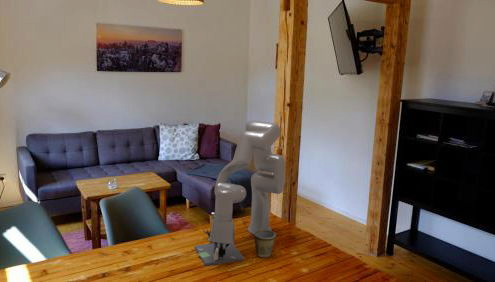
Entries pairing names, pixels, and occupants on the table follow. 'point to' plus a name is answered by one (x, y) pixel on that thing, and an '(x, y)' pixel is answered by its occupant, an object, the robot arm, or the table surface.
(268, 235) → the ceramic cup
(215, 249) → the peg
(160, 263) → the table surface
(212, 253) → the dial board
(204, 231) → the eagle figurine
